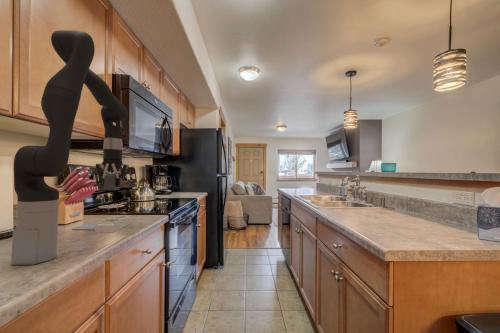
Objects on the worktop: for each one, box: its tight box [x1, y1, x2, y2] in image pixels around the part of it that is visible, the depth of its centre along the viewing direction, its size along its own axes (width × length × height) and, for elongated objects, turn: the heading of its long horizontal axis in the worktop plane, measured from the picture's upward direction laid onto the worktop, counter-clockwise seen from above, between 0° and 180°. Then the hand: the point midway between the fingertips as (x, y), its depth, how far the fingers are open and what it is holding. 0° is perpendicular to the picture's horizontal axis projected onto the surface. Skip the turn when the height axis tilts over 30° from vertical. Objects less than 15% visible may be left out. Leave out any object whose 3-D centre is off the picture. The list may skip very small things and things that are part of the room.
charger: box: [103, 173, 120, 191], centre depth 109 cm, size 4×4×7 cm
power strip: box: [94, 215, 132, 233], centre depth 111 cm, size 18×7×4 cm, turn 3°
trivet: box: [72, 223, 98, 231], centre depth 111 cm, size 10×10×1 cm
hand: (111, 186), depth 108 cm, fingers closed on charger, 4 cm apart
